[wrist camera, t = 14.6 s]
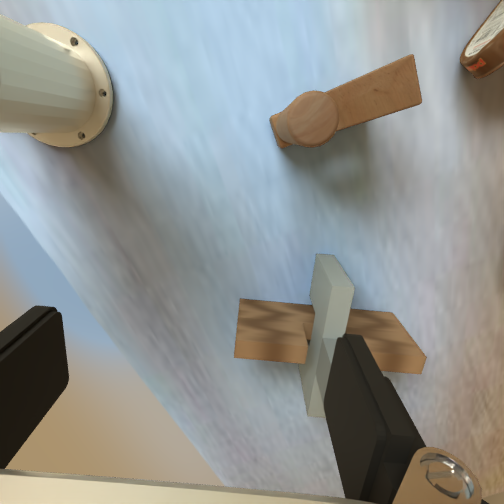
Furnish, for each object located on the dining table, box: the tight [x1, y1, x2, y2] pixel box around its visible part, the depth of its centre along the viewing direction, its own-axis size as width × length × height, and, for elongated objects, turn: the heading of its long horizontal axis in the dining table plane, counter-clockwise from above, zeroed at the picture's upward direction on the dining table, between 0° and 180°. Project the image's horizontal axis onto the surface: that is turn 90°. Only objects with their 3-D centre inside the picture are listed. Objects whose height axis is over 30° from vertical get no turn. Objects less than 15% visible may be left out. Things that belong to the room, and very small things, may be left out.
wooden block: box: [270, 54, 422, 148], centre depth 30 cm, size 4×11×18 cm, turn 110°
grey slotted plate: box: [298, 254, 355, 418], centre depth 39 cm, size 18×2×16 cm, turn 175°
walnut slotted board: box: [234, 299, 427, 374], centre depth 42 cm, size 22×2×10 cm, turn 85°
